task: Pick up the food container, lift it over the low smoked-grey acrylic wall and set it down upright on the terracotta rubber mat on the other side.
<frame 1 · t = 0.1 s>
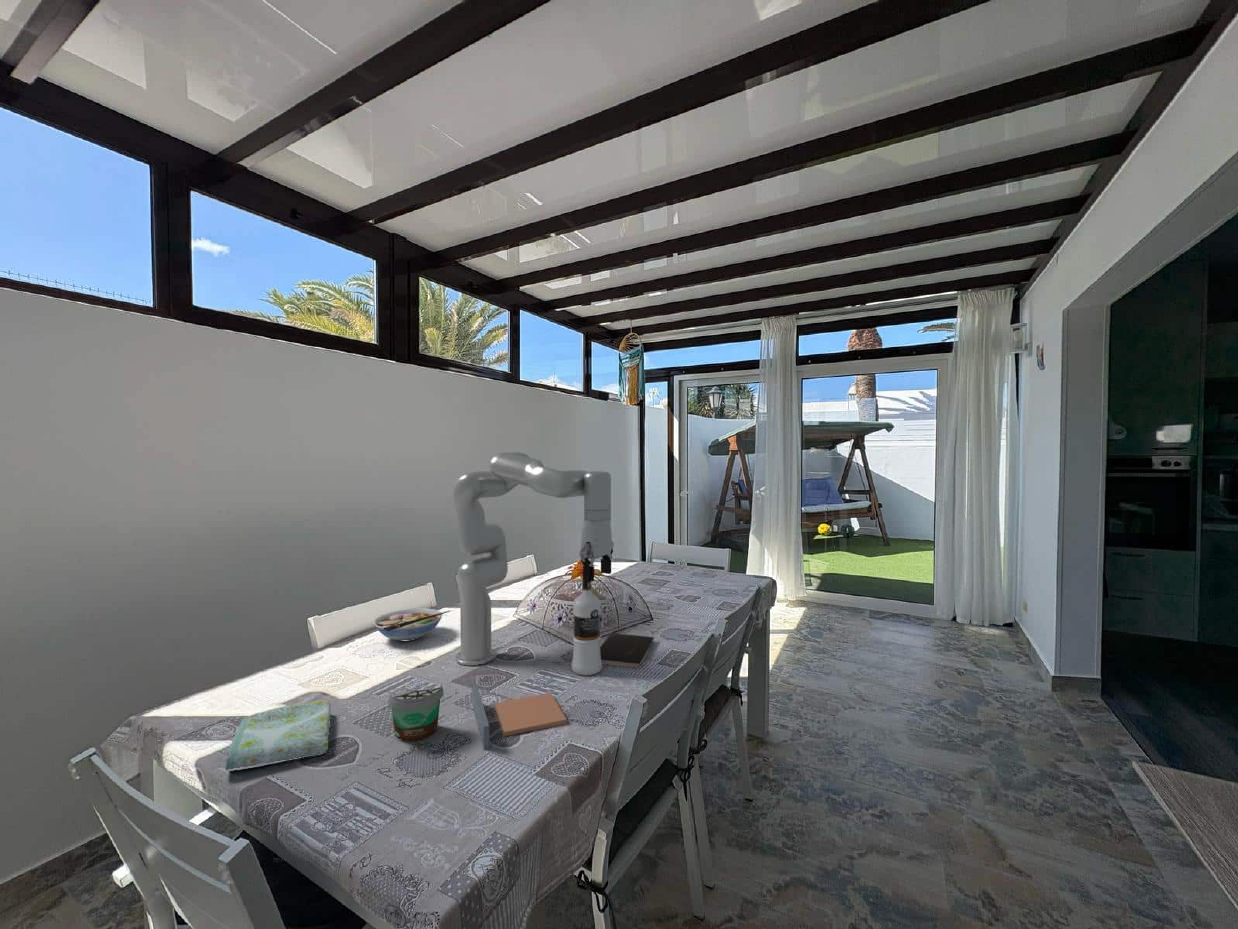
hand: (597, 576, 142), 31 cm above the table, tool pointing down, fingers open, 9 cm apart
acrylic wall: (480, 724, 123), on the table
hardcover book: (623, 654, 169), on the table
food container: (417, 737, 117), on the table
towel: (284, 745, 115), on the table
vodka: (586, 670, 154), on the table
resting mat: (529, 715, 127), on the table
ramen bowl: (408, 638, 181), on the table
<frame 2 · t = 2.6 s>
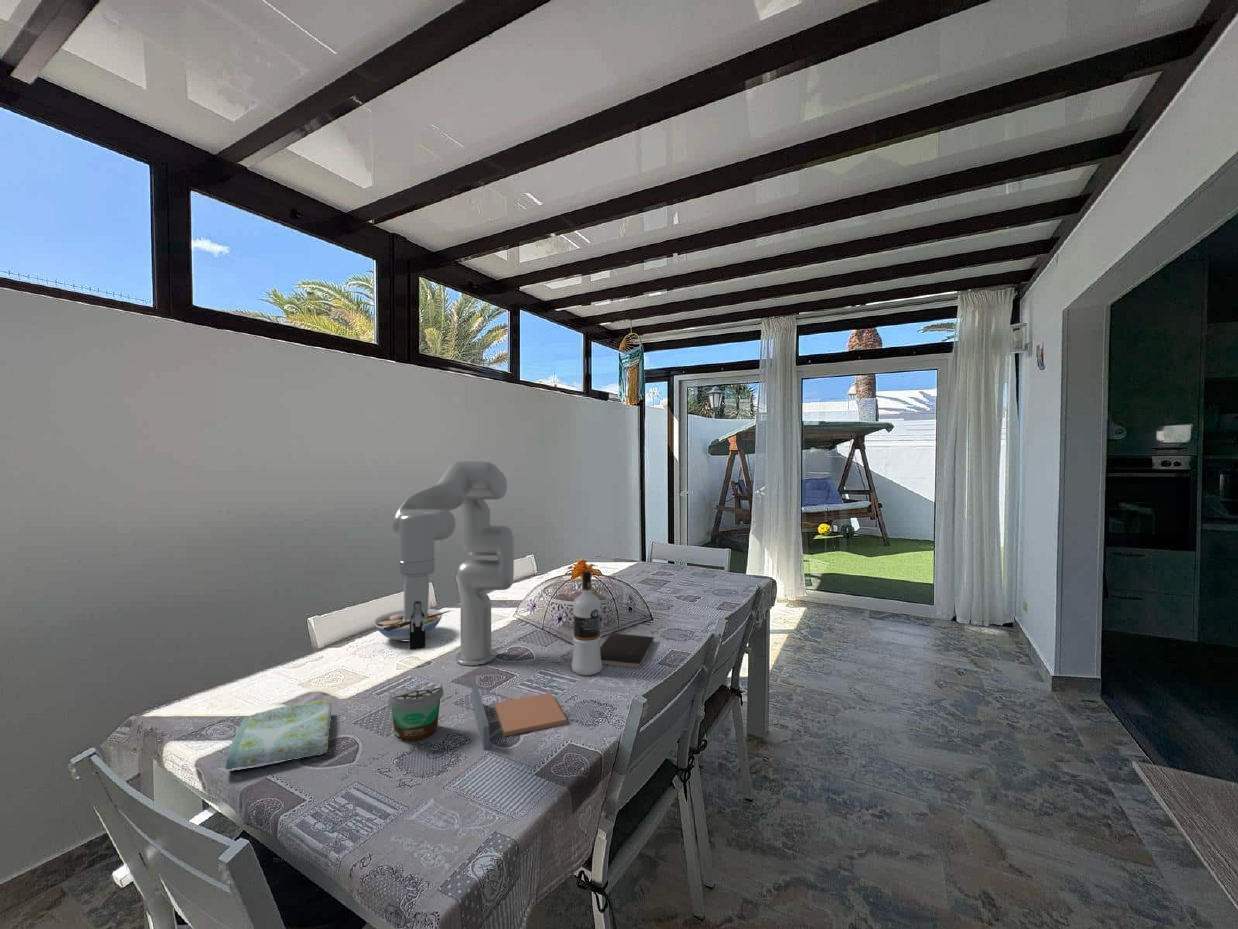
hand: (417, 641, 117), 22 cm above the table, tool pointing down, fingers open, 9 cm apart
nothing on the table moved.
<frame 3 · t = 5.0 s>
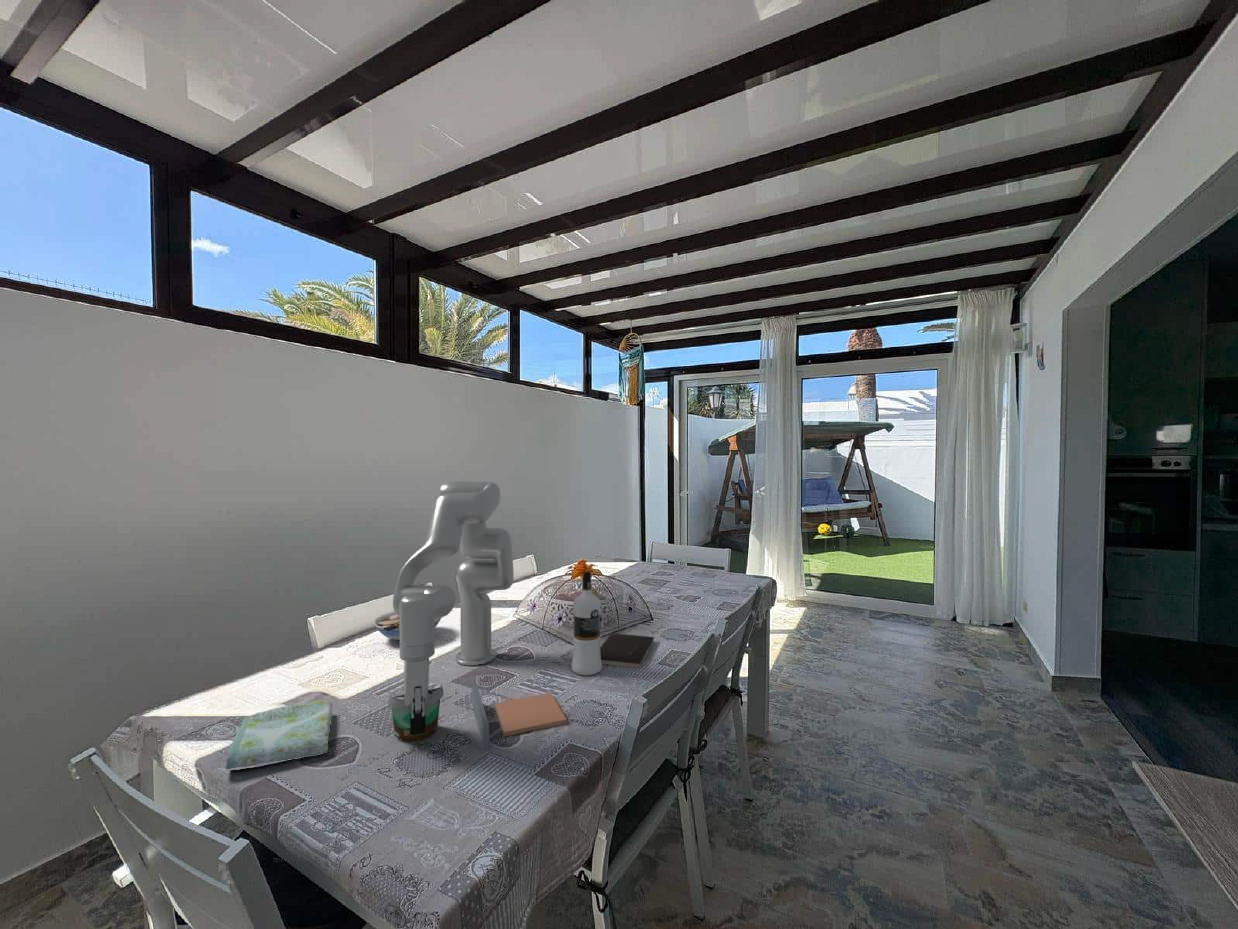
hand: (417, 725, 117), 3 cm above the table, tool pointing down, fingers open, 6 cm apart
food container: (417, 737, 117), on the table, touching gripper
everything else where it was.
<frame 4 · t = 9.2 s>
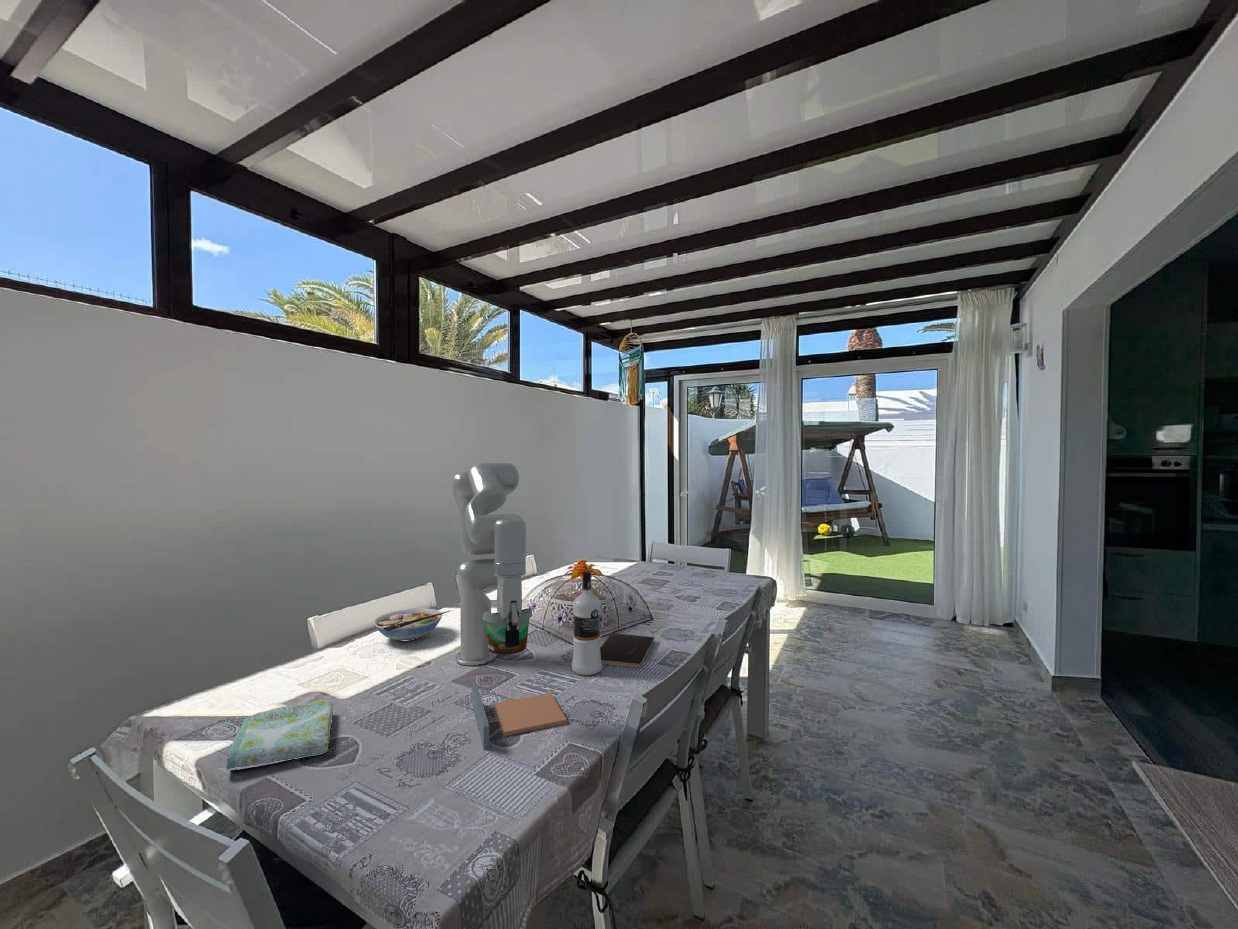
hand: (510, 641, 125), 19 cm above the table, tool pointing down, fingers closed on food container, 5 cm apart
food container: (510, 652, 125), point 17 cm above the table, touching gripper
everything else where it was.
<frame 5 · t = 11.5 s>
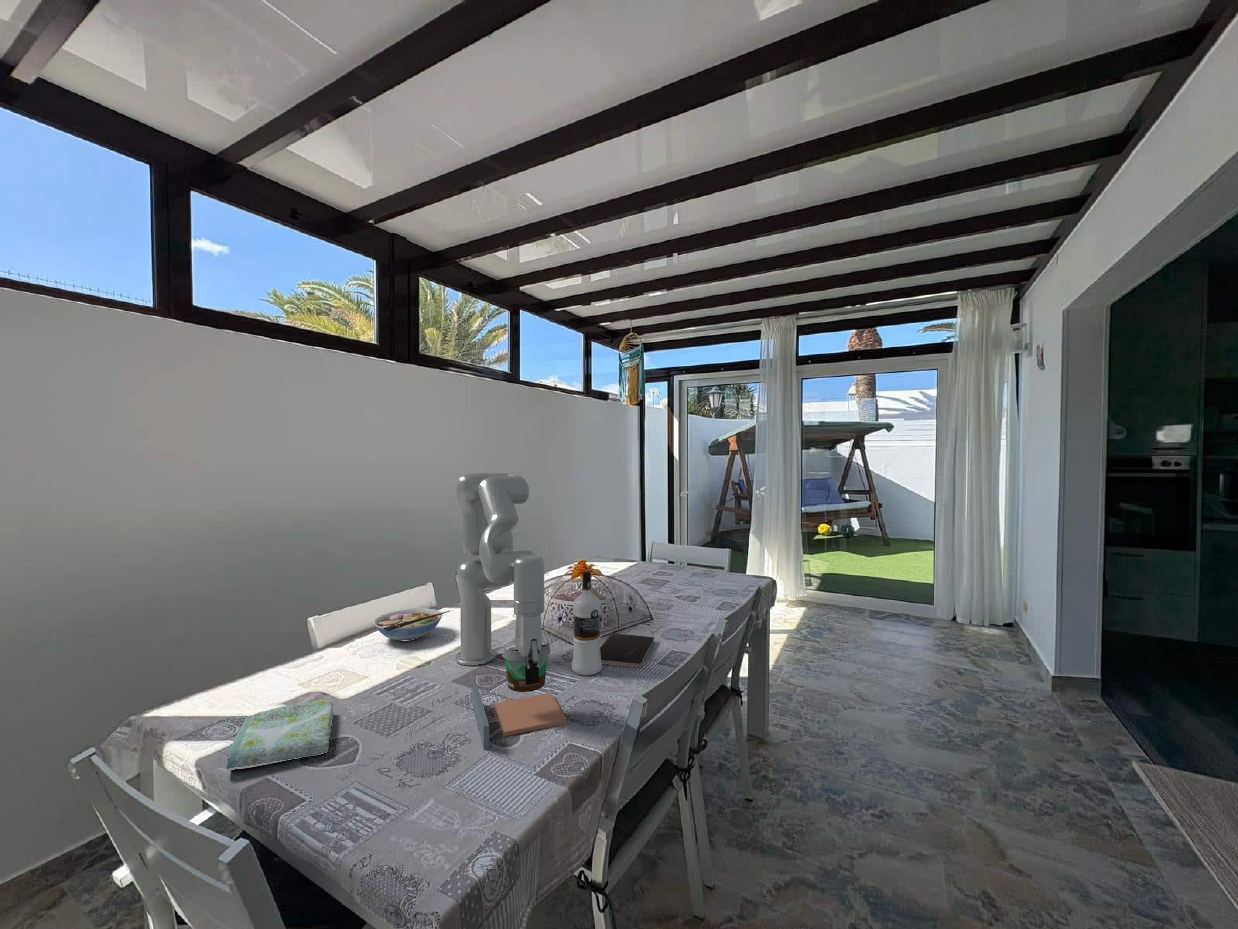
hand: (529, 677, 127), 9 cm above the table, tool pointing down, fingers closed on food container, 5 cm apart
food container: (529, 689, 126), point 7 cm above the table, touching gripper
everything else where it was.
when the fingers open (4 cm above the table, at t = 13.3 s): food container moves 1 cm, resting on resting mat.
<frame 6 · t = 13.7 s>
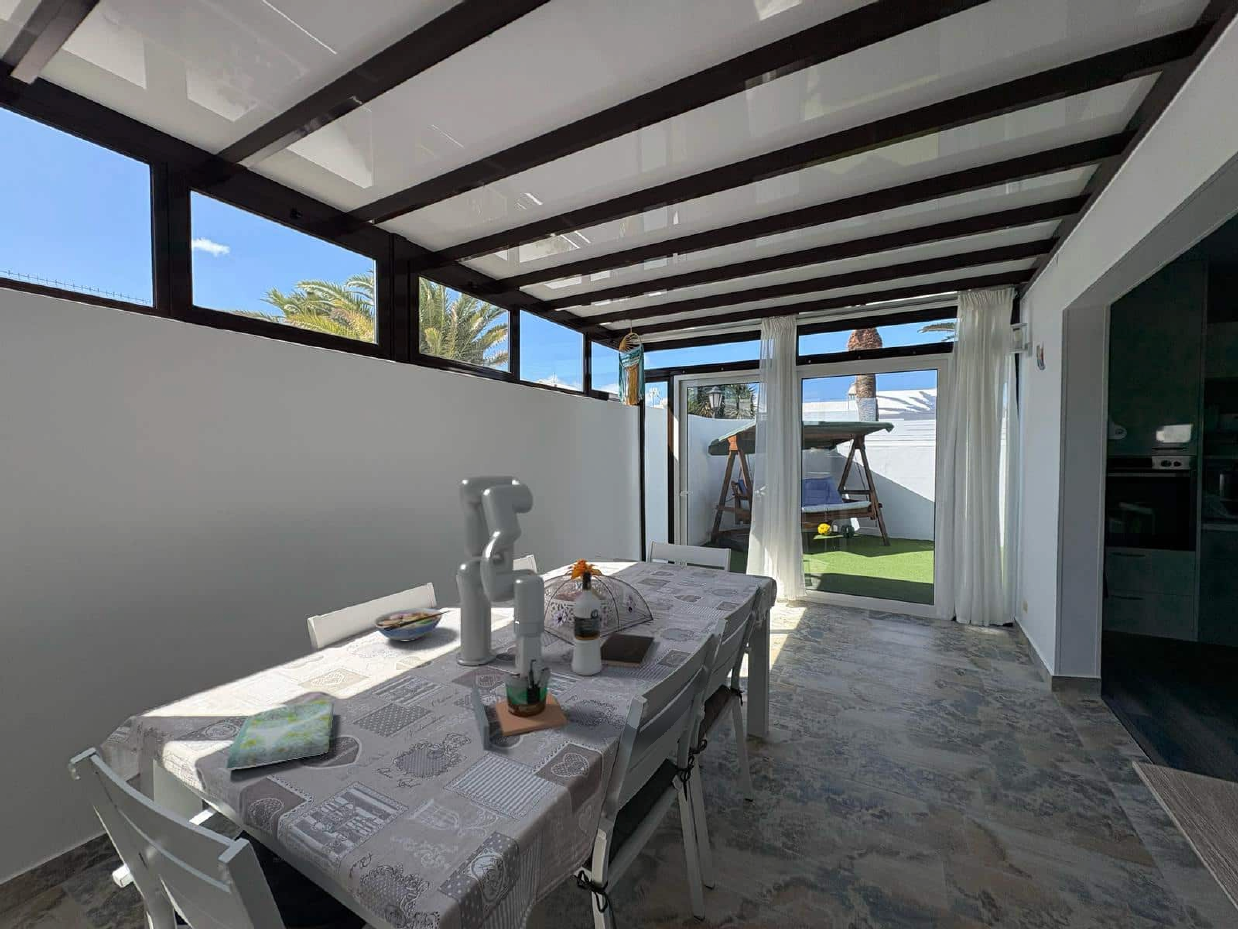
hand: (529, 694, 127), 5 cm above the table, tool pointing down, fingers open, 9 cm apart
food container: (530, 713, 126), point 1 cm above the table, touching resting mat
everything else where it was.
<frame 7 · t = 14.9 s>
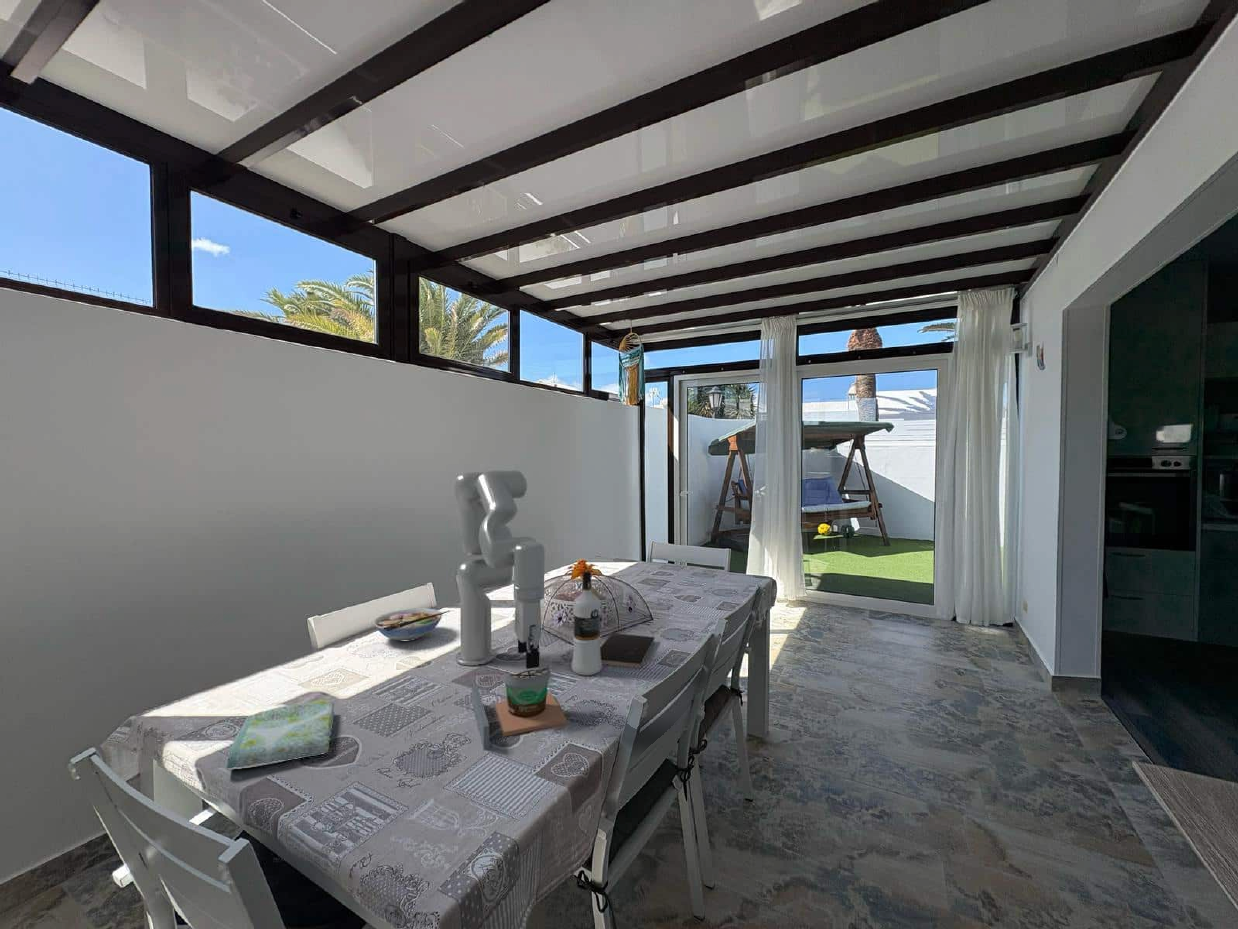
hand: (528, 659, 128), 14 cm above the table, tool pointing down, fingers open, 9 cm apart
nothing on the table moved.
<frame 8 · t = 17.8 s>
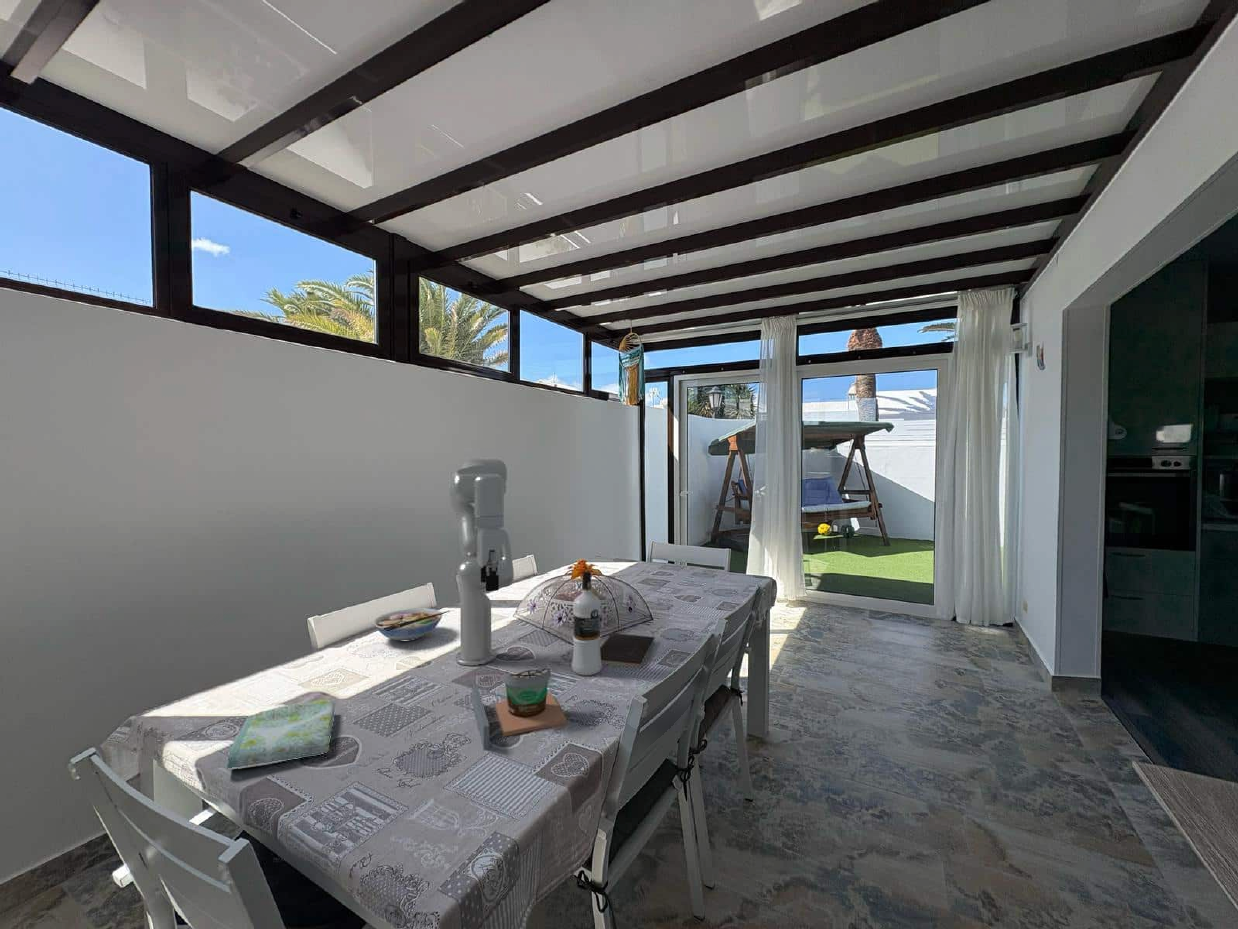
hand: (489, 586, 135), 30 cm above the table, tool pointing down, fingers open, 9 cm apart
nothing on the table moved.
at the end: food container inside the target area on the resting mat (1.2 cm from its centre), point 0.8 cm above the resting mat's base; food container tilted 0°; the gripper is holding nothing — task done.
